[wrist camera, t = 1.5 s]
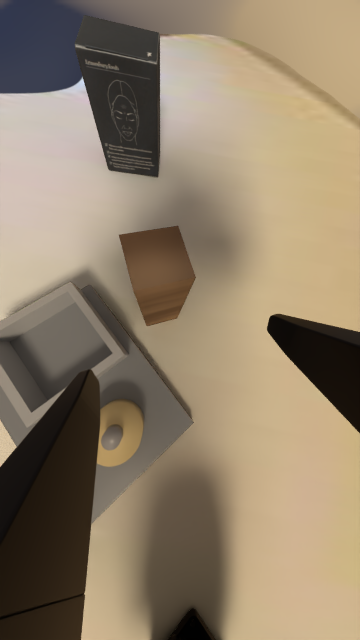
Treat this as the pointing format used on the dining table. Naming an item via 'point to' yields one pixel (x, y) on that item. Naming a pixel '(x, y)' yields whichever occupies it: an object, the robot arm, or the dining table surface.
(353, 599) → the dining table surface
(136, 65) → the box
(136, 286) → the wooden block
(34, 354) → the housing
